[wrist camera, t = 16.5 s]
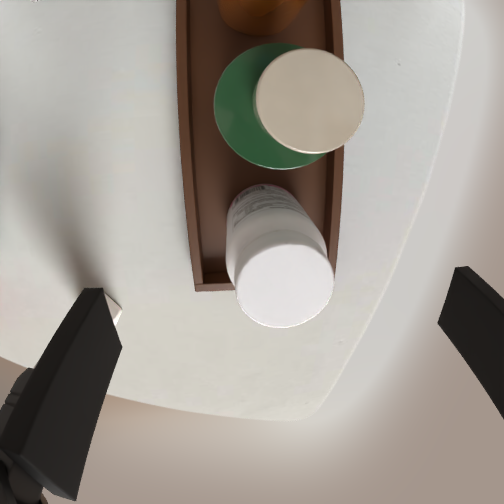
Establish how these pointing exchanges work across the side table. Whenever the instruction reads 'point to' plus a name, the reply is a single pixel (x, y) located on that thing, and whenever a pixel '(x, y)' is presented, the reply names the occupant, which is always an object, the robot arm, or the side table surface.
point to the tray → (222, 155)
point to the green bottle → (287, 105)
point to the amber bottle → (259, 15)
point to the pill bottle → (276, 258)
